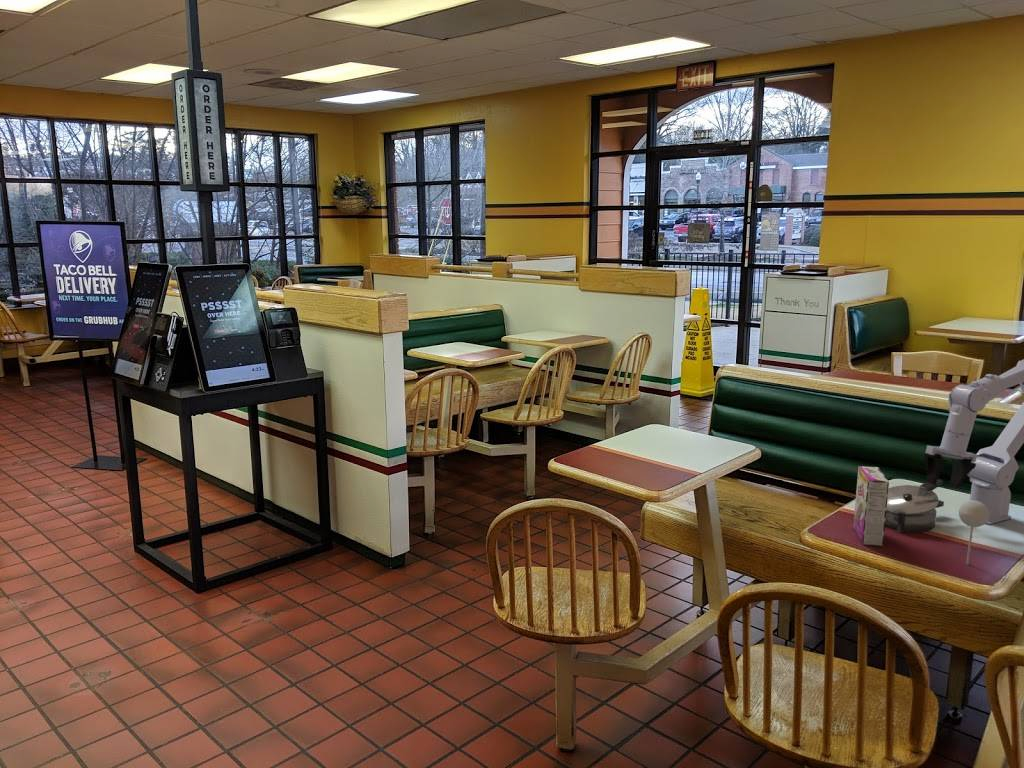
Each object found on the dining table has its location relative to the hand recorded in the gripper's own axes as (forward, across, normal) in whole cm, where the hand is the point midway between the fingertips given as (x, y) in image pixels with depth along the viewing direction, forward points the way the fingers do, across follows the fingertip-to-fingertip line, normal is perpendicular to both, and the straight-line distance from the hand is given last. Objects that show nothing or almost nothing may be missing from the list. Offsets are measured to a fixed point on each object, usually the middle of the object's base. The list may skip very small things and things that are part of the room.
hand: (942, 485), depth 201 cm
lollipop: (+13, -9, -20) cm, 26 cm away
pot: (+11, -1, +5) cm, 12 cm away
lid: (+5, -3, +4) cm, 7 cm away
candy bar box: (+16, -20, -1) cm, 25 cm away
